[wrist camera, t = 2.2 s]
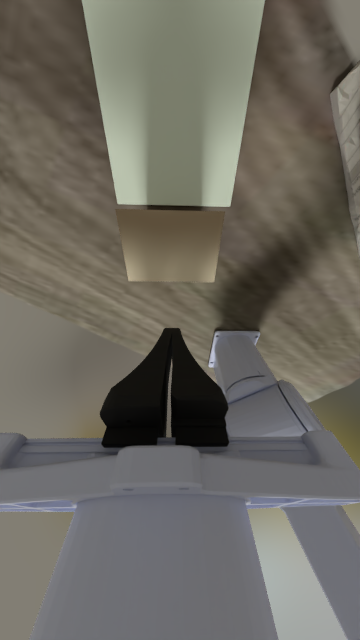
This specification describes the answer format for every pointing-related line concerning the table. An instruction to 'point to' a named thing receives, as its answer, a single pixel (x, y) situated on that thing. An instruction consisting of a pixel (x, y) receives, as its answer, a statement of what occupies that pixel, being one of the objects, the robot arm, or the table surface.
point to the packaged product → (349, 139)
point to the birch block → (170, 244)
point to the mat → (173, 94)
